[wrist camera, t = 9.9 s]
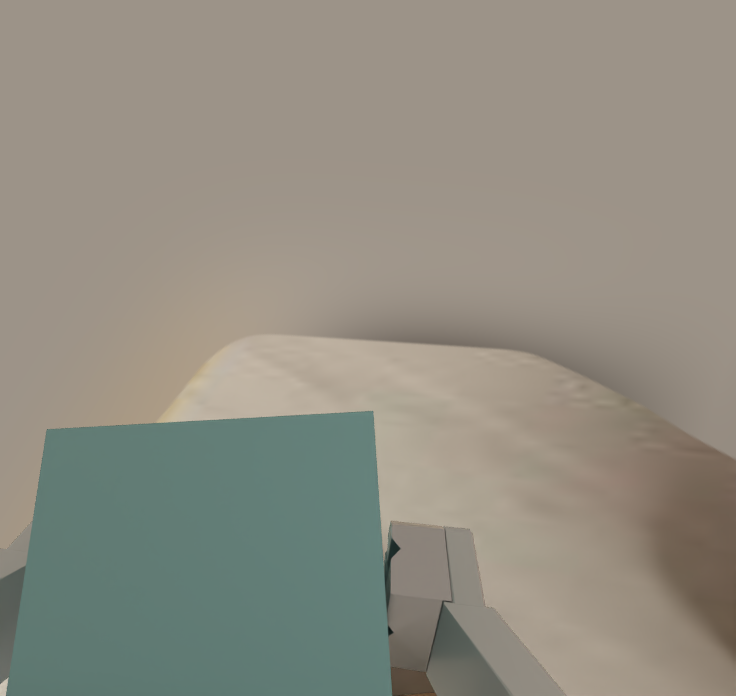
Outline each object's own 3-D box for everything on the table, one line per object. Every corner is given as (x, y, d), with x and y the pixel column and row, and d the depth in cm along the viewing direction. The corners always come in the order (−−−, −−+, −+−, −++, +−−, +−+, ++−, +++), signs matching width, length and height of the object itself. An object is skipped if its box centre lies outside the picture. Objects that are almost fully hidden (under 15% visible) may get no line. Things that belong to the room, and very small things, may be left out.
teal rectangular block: (362, 472, 14) (372, 410, 6) (371, 628, 13) (399, 807, 5) (222, 480, 14) (46, 429, 6) (216, 640, 13) (-18, 847, 5)
